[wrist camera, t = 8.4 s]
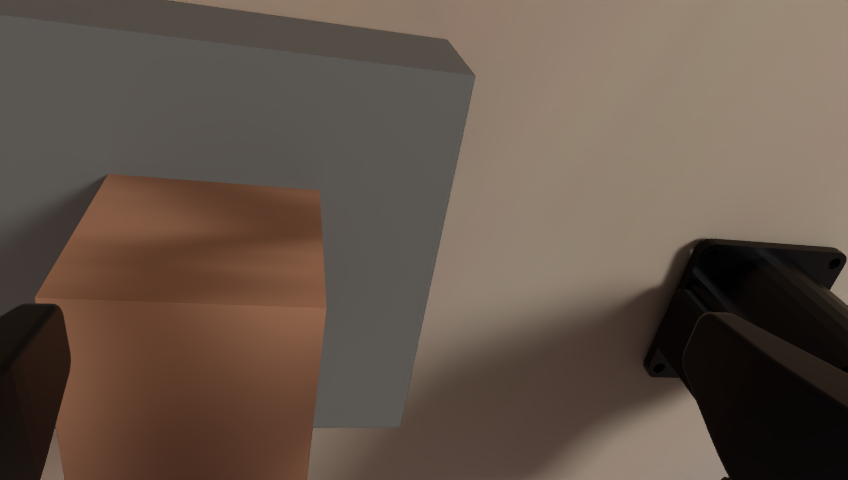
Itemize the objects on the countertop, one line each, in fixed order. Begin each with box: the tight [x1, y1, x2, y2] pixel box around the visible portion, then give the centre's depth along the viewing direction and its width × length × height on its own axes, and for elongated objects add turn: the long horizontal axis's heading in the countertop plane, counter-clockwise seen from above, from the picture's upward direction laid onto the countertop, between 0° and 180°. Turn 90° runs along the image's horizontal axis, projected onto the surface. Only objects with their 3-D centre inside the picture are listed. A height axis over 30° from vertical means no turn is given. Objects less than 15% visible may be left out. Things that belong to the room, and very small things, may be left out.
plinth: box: [0, 0, 475, 429], centre depth 18 cm, size 12×12×4 cm
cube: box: [35, 174, 327, 480], centre depth 15 cm, size 5×5×5 cm
